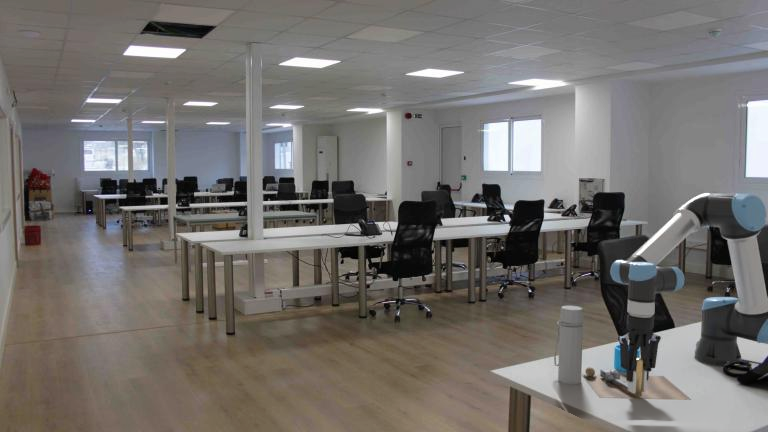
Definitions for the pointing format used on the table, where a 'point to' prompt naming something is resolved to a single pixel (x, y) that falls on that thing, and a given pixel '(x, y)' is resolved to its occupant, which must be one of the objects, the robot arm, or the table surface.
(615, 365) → the mug
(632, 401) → the table surface
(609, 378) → the lever
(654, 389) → the nutcracker base
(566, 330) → the water bottle
